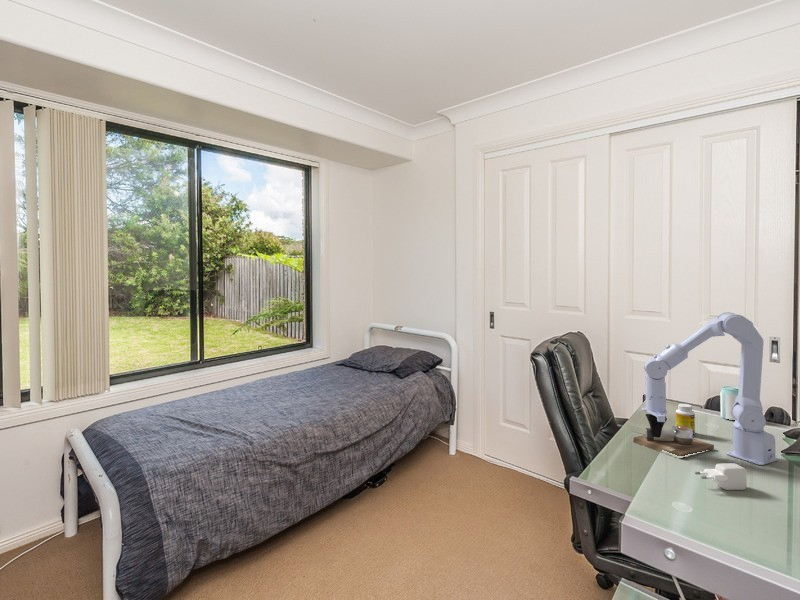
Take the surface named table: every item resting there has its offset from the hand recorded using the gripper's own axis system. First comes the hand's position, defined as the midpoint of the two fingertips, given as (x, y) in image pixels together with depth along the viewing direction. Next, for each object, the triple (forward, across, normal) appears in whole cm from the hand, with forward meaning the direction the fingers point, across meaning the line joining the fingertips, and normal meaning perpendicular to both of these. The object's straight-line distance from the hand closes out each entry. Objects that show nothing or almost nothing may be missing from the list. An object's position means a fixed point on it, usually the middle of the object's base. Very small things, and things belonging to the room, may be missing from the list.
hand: (656, 436), depth 138 cm
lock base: (+3, -2, +5) cm, 6 cm away
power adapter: (+3, +26, +9) cm, 28 cm away
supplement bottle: (+3, -15, +12) cm, 20 cm away
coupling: (+1, -2, +4) cm, 5 cm away
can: (+3, -36, +34) cm, 50 cm away
